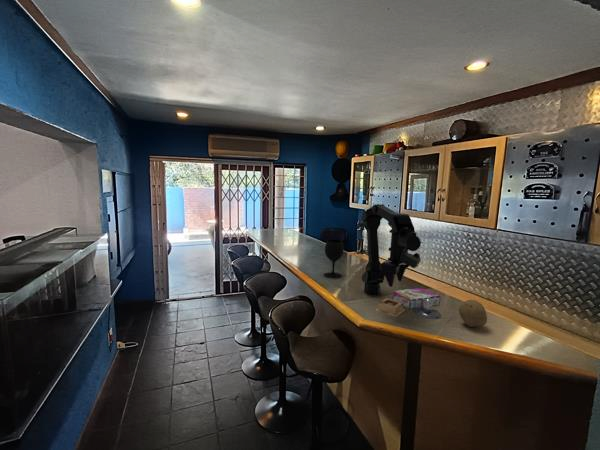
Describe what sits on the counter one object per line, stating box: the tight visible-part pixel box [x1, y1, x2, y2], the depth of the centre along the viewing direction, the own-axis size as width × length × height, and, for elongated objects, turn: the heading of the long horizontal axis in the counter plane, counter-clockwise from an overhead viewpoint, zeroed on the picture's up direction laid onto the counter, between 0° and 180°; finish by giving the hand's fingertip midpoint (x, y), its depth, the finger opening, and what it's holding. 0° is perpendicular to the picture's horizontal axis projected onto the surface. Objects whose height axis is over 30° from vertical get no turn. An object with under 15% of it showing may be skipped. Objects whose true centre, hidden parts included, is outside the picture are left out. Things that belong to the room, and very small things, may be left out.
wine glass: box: [323, 239, 344, 279], centre depth 165 cm, size 10×10×20 cm
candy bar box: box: [392, 287, 442, 310], centre depth 129 cm, size 11×5×16 cm
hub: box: [413, 299, 442, 320], centre depth 116 cm, size 10×10×7 cm
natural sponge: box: [458, 299, 488, 328], centre depth 109 cm, size 9×9×10 cm
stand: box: [374, 303, 406, 317], centre depth 119 cm, size 9×9×3 cm
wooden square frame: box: [377, 297, 404, 316], centre depth 119 cm, size 7×7×3 cm
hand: (395, 283), depth 117 cm, fingers open, 9 cm apart
